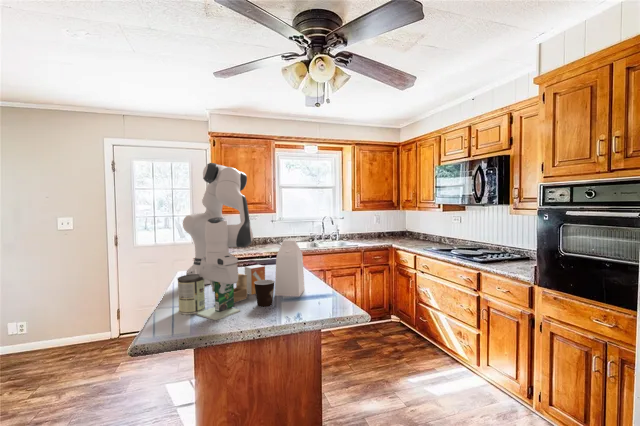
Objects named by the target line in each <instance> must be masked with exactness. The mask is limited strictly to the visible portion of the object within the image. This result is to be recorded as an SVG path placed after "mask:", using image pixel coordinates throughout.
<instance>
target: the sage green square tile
mask: <svg viewBox="0 0 640 426" xmlns="http://www.w3.org/2000/svg"><path fill="white" fill-rule="evenodd" d="M240 312H241V309H238V308H235V307H232V308H229V309H226V310H224V311H221V312H217V311H215V306H213V307H211V308H208V309H205V310H204V311H201V312H198V313H196V315H197V316H199V317H204V318H207V319H210V320H213V321H218V320H220V319H224V318H227V317H229V316H231V315H233V314H237V313H240Z"/></svg>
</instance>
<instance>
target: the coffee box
mask: <svg viewBox="0 0 640 426" xmlns="http://www.w3.org/2000/svg"><path fill="white" fill-rule="evenodd" d="M214 284H215V292H214V307H215V311H217V312H221V311H224V310H226V309H229V308H235V303H234V288H235V287H234V284H235V283H234V284H227V285H226V287H225V292H224V293H219V289H220V287H221V285H220V282H215V281H214Z"/></svg>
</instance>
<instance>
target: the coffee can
mask: <svg viewBox="0 0 640 426" xmlns="http://www.w3.org/2000/svg"><path fill="white" fill-rule="evenodd" d="M177 288H178V289H177V292H178V293H177V294H178V295H177V296H178V313H179V314H180V315H186V316H187V315H188V316H189V315H195V314H196V313H198V312H201V311H204V310H206V303H205V302H206V300H205V285H204V279H203V277H200V276H199V274H191V275H186V274H184V275H181V276H179V277H177Z"/></svg>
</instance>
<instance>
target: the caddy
mask: <svg viewBox="0 0 640 426" xmlns="http://www.w3.org/2000/svg"><path fill="white" fill-rule="evenodd" d="M247 299H248V293H247V275H245V273H239V272H238V281H237V283H235V287H234V304H235V303H238V302H240V301H243V300H247Z"/></svg>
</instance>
